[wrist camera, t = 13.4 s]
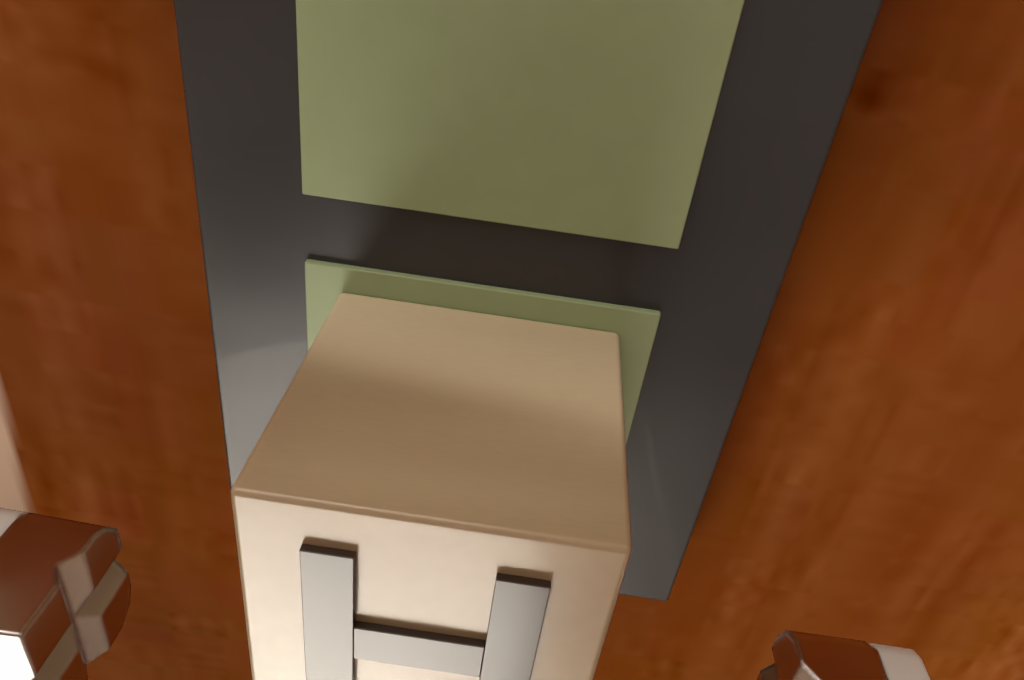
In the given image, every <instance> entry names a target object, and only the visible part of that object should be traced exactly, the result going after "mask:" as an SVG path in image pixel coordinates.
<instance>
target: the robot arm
mask: <svg viewBox="0 0 1024 680" xmlns="http://www.w3.org/2000/svg"><path fill="white" fill-rule="evenodd" d="M122 548H123V547H122V544H121V540H120V537H119V533H118V530H117V529H116V528H111V527H105V526H100V525H94V524H89V523H83V522H78V521H72V520H67V519H62V518H56V517H51V516H45V515H40V514H34V513H28V512H22V511H16V510H10V509H4V508H0V680H88V675H87V667H86V664H87V663H89V662H90V661H92V660H93V659H95V658H96V657H98V656H99V655H101V654H103V653H104V652H106V651H107V650H109V649H110V647H111V645H112V644H113V642H114V640H115V639H116V637H117V635H118V633H119V632H120V630H121V628H122V626H123V623H124V620H125V617H126V614H127V611H128V608H129V605H130V595H131V583H130V578H129V574H128V572H127V571H126V570H125V569H124V568H123V567H122V566H121V565H120V564H119V563H118V562H117V561H116V560H115V558H116V557H117V555H118V554H119V552H120V551H121V549H122ZM772 651H773V656H774V660H775V663H774V664H773V665H771V666H769V667H767V668H765V669H763V670H761V671H760V674H759V676H758V678H757V680H930V678H929V675H928V673H927V671H926V668H925V666H924V663H923V661H922V659H921V658H920V656H919V655H918V654H917V653H916V652H915V651H914V650H912V649H907V648H900V647H894V646H887V645H880V644H874V643H867V642H865V641H860V640H853V639H846V638H839V637H832V636H824V635H817V634H810V633H803V632H796V631H789V630H786V631H784V632H783V633H781V634H780V635H778V637H777V639H776V641H775V643H774V645H773V647H772Z"/></svg>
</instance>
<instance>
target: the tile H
mask: <svg viewBox="0 0 1024 680" xmlns="http://www.w3.org/2000/svg"><path fill="white" fill-rule="evenodd" d="M231 499H232V507H233V516H234V525H235V533H236V542H237V550H238V559H239V567H240V576H241V585H242V593H243V602H244V610H245V619H246V628H247V636H248V645H249V653H250V662H251V670H252V679H253V680H593V678H594V674H595V671H596V668H597V664H598V661H599V658H600V654H601V651H602V648H603V644H604V641H605V638H606V635H607V631H608V628H609V625H610V621H611V618H612V615H613V611H614V608H615V605H616V601H617V598H618V595H619V591H620V588H621V585H622V582H623V578H624V575H625V572H626V568H627V565H628V562H629V558H630V555H631V552H632V540H631V523H630V507H629V490H628V473H627V456H626V439H625V422H624V406H623V389H622V372H621V355H620V339H619V335H618V334H616V333H613V332H606V331H600V330H593V329H586V328H579V327H573V326H566V325H559V324H552V323H545V322H539V321H532V320H525V319H518V318H512V317H505V316H498V315H491V314H484V313H478V312H471V311H464V310H457V309H450V308H444V307H437V306H430V305H423V304H417V303H410V302H403V301H396V300H389V299H383V298H376V297H369V296H362V295H356V294H349V293H342V294H340V295H339V297H338V299H337V301H336V302H335V304H334V306H333V308H332V310H331V311H330V313H329V315H328V317H327V318H326V320H325V322H324V324H323V326H322V327H321V329H320V331H319V333H318V335H317V336H316V338H315V340H314V342H313V344H312V345H311V347H310V349H309V351H308V352H307V354H306V356H305V358H304V360H303V361H302V363H301V365H300V367H299V369H298V370H297V372H296V374H295V376H294V377H293V379H292V381H291V383H290V385H289V386H288V388H287V390H286V392H285V394H284V395H283V397H282V399H281V401H280V403H279V404H278V406H277V408H276V410H275V411H274V413H273V415H272V417H271V419H270V420H269V422H268V424H267V426H266V428H265V429H264V431H263V433H262V435H261V437H260V438H259V440H258V442H257V444H256V445H255V447H254V449H253V451H252V453H251V454H250V456H249V458H248V460H247V462H246V463H245V465H244V467H243V469H242V470H241V472H240V474H239V476H238V478H237V479H236V481H235V483H234V485H233V487H232V489H231Z"/></svg>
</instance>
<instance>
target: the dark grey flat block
mask: <svg viewBox="0 0 1024 680" xmlns="http://www.w3.org/2000/svg"><path fill="white" fill-rule="evenodd" d="M882 3H883V0H174V6H175V14H176V23H177V31H178V40H179V49H180V57H181V66H182V75H183V83H184V92H185V100H186V109H187V118H188V126H189V135H190V143H191V152H192V161H193V169H194V178H195V187H196V195H197V204H198V212H199V221H200V230H201V238H202V247H203V256H204V264H205V273H206V281H207V290H208V299H209V307H210V316H211V324H212V333H213V342H214V350H215V359H216V368H217V376H218V385H219V393H220V402H221V411H222V419H223V428H224V437H225V445H226V454H227V462H228V471H229V480H230V488H231V489H232V487H233V485H234V483H235V481H236V479H237V478H238V476H239V474H240V472H241V470H242V469H243V467H244V465H245V463H246V462H247V460H248V458H249V456H250V454H251V453H252V451H253V449H254V447H255V445H256V444H257V442H258V440H259V438H260V437H261V435H262V433H263V431H264V429H265V428H266V426H267V424H268V422H269V420H270V419H271V417H272V415H273V413H274V411H275V410H276V408H277V406H278V404H279V403H280V401H281V399H282V397H283V395H284V394H285V392H286V390H287V388H288V386H289V385H290V383H291V381H292V379H293V377H294V376H295V374H296V372H297V370H298V369H299V367H300V365H301V363H302V361H303V360H304V358H305V356H306V354H307V352H308V351H309V349H310V347H311V345H312V344H313V342H314V340H315V338H316V336H317V335H318V333H319V331H320V329H321V327H322V326H323V324H324V322H325V320H326V318H327V317H328V315H329V313H330V311H331V310H332V308H333V306H334V304H335V302H336V301H337V299H338V297H339V295H340V294H342V293H349V294H356V295H362V296H369V297H376V298H383V299H389V300H396V301H403V302H410V303H417V304H423V305H430V306H437V307H444V308H450V309H457V310H464V311H471V312H478V313H484V314H491V315H498V316H505V317H512V318H518V319H525V320H532V321H539V322H545V323H552V324H559V325H566V326H573V327H579V328H586V329H593V330H600V331H606V332H613V333H616V334H618V335H619V339H620V355H621V372H622V389H623V406H624V422H625V439H626V456H627V473H628V490H629V507H630V523H631V540H632V552H631V555H630V558H629V562H628V565H627V568H626V572H625V575H624V578H623V582H622V585H621V588H620V591H619V594H624V595H630V596H637V597H644V598H650V599H657V600H664V601H667V600H668V598H669V595H670V593H671V590H672V587H673V584H674V581H675V579H676V576H677V573H678V570H679V568H680V565H681V562H682V559H683V556H684V554H685V551H686V548H687V545H688V543H689V540H690V537H691V534H692V531H693V529H694V526H695V523H696V520H697V518H698V515H699V512H700V509H701V506H702V504H703V501H704V498H705V495H706V492H707V490H708V487H709V484H710V481H711V479H712V476H713V473H714V470H715V467H716V465H717V462H718V459H719V456H720V454H721V451H722V448H723V445H724V442H725V440H726V437H727V434H728V431H729V428H730V426H731V423H732V420H733V417H734V415H735V412H736V409H737V406H738V403H739V401H740V398H741V395H742V392H743V390H744V387H745V384H746V381H747V378H748V376H749V373H750V370H751V367H752V365H753V362H754V359H755V356H756V353H757V351H758V348H759V345H760V342H761V339H762V337H763V334H764V331H765V328H766V326H767V323H768V320H769V317H770V314H771V312H772V309H773V306H774V303H775V301H776V298H777V295H778V292H779V289H780V287H781V284H782V281H783V278H784V275H785V273H786V270H787V267H788V264H789V262H790V259H791V256H792V253H793V250H794V248H795V245H796V242H797V239H798V237H799V234H800V231H801V228H802V225H803V223H804V220H805V217H806V214H807V211H808V209H809V206H810V203H811V200H812V198H813V195H814V192H815V189H816V186H817V184H818V181H819V178H820V175H821V173H822V170H823V167H824V164H825V161H826V159H827V156H828V153H829V150H830V148H831V145H832V142H833V139H834V136H835V134H836V131H837V128H838V125H839V122H840V120H841V117H842V114H843V111H844V109H845V106H846V103H847V100H848V97H849V95H850V92H851V89H852V86H853V84H854V81H855V78H856V75H857V72H858V70H859V67H860V64H861V61H862V58H863V56H864V53H865V50H866V47H867V45H868V42H869V39H870V36H871V33H872V31H873V28H874V25H875V22H876V20H877V17H878V14H879V11H880V8H881V6H882Z"/></svg>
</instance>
